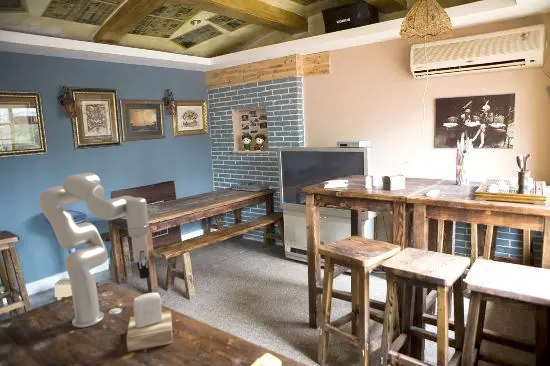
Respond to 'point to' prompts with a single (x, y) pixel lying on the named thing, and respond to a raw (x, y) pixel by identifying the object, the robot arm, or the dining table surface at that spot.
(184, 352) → the dining table surface
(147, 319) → the photo printer
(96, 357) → the dining table surface
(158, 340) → the birch block
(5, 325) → the dining table surface
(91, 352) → the dining table surface
